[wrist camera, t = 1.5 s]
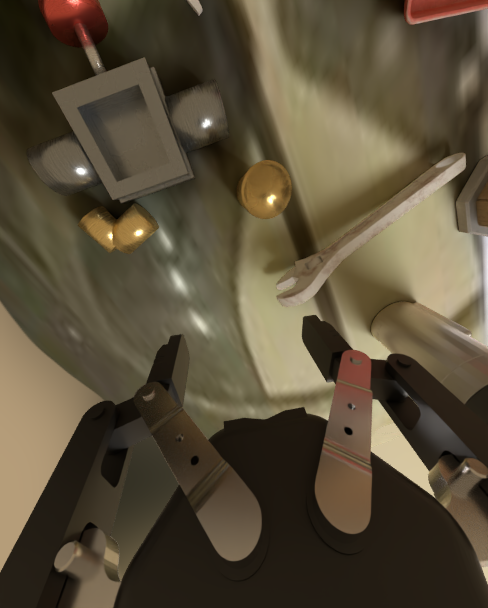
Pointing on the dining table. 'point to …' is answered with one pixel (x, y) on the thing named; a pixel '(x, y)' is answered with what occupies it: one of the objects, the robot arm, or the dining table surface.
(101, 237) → the brass elbow
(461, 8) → the plant saucer
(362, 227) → the wrench
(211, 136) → the valve body
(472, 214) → the tankard
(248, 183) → the brass knob
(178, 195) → the dining table surface
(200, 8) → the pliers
